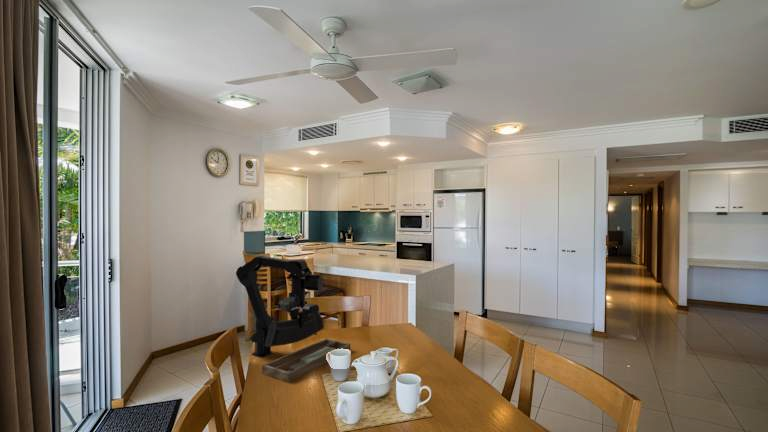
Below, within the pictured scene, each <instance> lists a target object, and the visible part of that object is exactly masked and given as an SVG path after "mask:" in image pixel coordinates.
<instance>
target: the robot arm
mask: <svg viewBox="0 0 768 432" xmlns="http://www.w3.org/2000/svg"><path fill="white" fill-rule="evenodd" d="M262 267H267V268H268V267H269V268H274V269H280V270H284V271H285V272H287V273H289V274H288V276H286V279H287V280H291V284H290V285H291V288H290V290H291V291H290V292H288V296H287V297H286V298H284V299H282V300H279V301H278V303H277V309H280V310H281V311H285V312H286V313H288V315H289V317H290V320H292V319H296V318H299V325H300V328H302V327H303V325H304V322H305V320H306V318H307V316H308V315H309V314H312V313H315V312H318V311H319V312H320V306H319V305H318V304H316V303H308V301H307V300H306V295H307V294H308V291H314V292H321V291H323V288H324V280H323V279H324V278H322V274H320V273H318V274H317V273H316V274H313V272H312V271H311V269H310V268H309V266H308V263H307V261H306V259H303V258H299V259H298V258H297V259H296V258H294V259H283V258H277V257H273V256H272V257H271V256H267V255H266V256H265V255H257V256H254V258H252V259H251V260H250V261H248V262H246V263H245V264H244V265H242V266H238V268H237V269H236V271H235V275H236V278H237V280H238V281H239V283H240V284H241V285H242V286H244V288H245V290H246V293H247V295H248V299H249V302H250V305H251V308H252V310H253V313H254V316H255V330H256V332H254V334H253V335H251V337H250V340H251V342H252V343H254V352H252V353H251V355H252V356H255V357H258V358H263V357H266V356H268V355H271V354H273V353H274V350H273V351H272V350H271V349H272V346H271V347H267V346H265V342H266V338H267V334H268V330H269V327H270V325H271V324H272V321H273V320H275V321H276V319H275V316H274V315H272V316H270V315H269V314H268V311H267V309H266V305H265V302H264V300H263V297H262V293H261V291H260V288H259V285H258V272H259V270H261V268H262Z"/></svg>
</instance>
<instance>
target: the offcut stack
mask: <svg viewBox="0 0 768 432" xmlns="http://www.w3.org/2000/svg"><path fill="white" fill-rule="evenodd" d="M335 349H336V348H331V347H324V348H322V349H320V350H318V351H316V352H314V353H312V354H310V355H308V356H305V357H303V358H301V359H300V363H297V364H295V365H293V366H291V367H289V371H287V372H291V371H293V370H296V369H298V368H300V367H302V366H304V365H306V364H308V363H310V362H312V361H314V360H316V359H318V358H320V357H322V356H325V355H326V354H327V353H328V352H330V351H332V350H335Z"/></svg>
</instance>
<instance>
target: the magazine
mask: <svg viewBox="0 0 768 432" xmlns="http://www.w3.org/2000/svg"><path fill="white" fill-rule="evenodd" d="M323 328H324V321H323V317H322V316H321V314H320V310H319V311H318V312H315V313H312V314H309V315H308V316H307V318H306V320H305V322H304V325H303V327H302V328H300V325H299V317H298V318H296V319H292V320H291V319H289V320H288V319H287V320H282V321H281V320H279V321H277V320H276V319H275V320H273V321H272V324H271V325H270V327H269V330H268V334H267V338H266V342H265V346H267V347H271V348H272V347H279V346H285V345H290V344H294V343H298V342H301V341H303V340H305V339H308V338H310V337H311V336H313V335H315V336H317V333H318V332H320V331H321V330H323Z"/></svg>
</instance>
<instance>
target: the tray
mask: <svg viewBox="0 0 768 432" xmlns="http://www.w3.org/2000/svg"><path fill="white" fill-rule="evenodd" d="M324 347H331V348H335V349H336V350H337V348H339V349H341V348H343V349H349V350H350V351H351V343H349V342H348V343H347V342H343V341H339V340H334V339H330V338H327V337H326V338H324V339H321V340H318V341H317V342H314V343H312V344H310V345H307V346H304V347H302V348H300V349H298V350H295V351H292V352H291V353H288V354H286V355H283V356H281V357H279V358H278V357H277V359H276V358H275V359H274V360H271V361H269V362H267V363H265V364H262V365H261V369H262V370H261V374H263V375H265V376H269V377H271V378H273V379H276V380H280V381H283V382H286V383H290V382H293V381H294V380H296V379H298V378H300V377H302V376H304V375H306V374H308V373H310V372H312V371H314V370H316V369H318V368H320V367H321V366H324V365H325V364H328V363H327V360H326V355H325V356H322V357H320V358H318V359H316V360H314V361H312V362H310V363H308V364H306V365H304V366H302V367H300V368H298V369H296V370H293V371H291V372H287V371H289V367H291V366H293V365H295V364H297V363H300V359H301V358H303V357H305V356H308V355H310V354H312V353H314V352H316V351H318V350H320V349H322V348H324Z"/></svg>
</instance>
